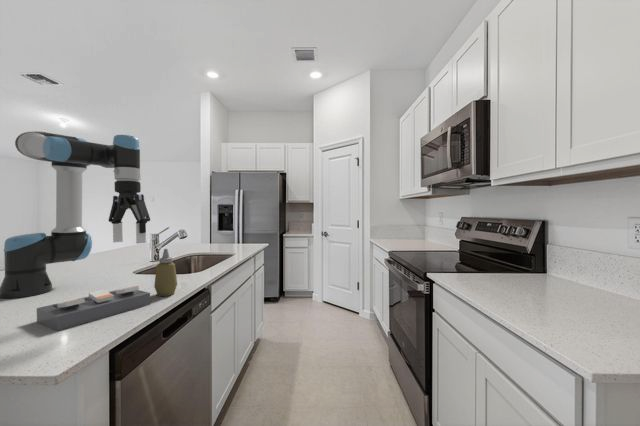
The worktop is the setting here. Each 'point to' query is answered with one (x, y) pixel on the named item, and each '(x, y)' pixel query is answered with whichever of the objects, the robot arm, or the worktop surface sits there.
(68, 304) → the rocker
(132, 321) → the worktop surface
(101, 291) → the middle rocker
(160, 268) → the squeeze bottle
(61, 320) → the power strip
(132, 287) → the rocker
